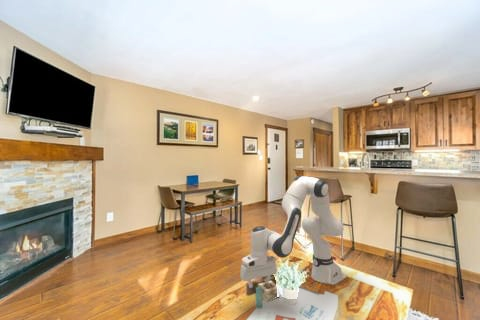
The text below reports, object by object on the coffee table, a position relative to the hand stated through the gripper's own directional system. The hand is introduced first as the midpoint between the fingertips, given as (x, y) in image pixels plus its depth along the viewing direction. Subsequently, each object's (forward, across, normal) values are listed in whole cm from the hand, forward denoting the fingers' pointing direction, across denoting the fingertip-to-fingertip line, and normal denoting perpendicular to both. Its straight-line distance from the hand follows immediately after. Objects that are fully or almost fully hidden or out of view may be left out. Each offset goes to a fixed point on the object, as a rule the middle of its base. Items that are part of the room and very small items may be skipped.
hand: (258, 285), depth 116 cm
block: (+11, -10, -7) cm, 17 cm away
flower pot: (+11, -19, -19) cm, 29 cm away
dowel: (+11, 0, 0) cm, 11 cm away
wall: (+11, -10, -12) cm, 20 cm away
